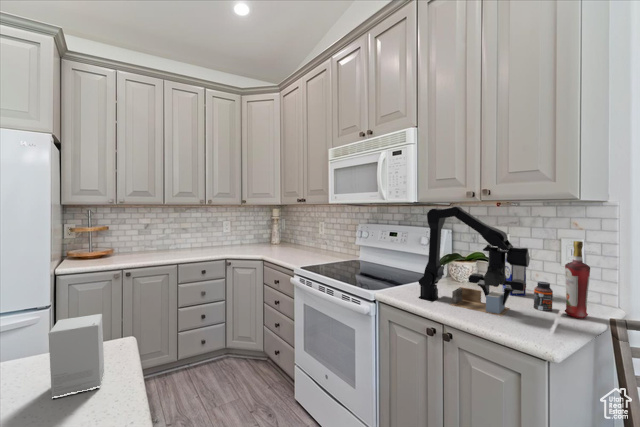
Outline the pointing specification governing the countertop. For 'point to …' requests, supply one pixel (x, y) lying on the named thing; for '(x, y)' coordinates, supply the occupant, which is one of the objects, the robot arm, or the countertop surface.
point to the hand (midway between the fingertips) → (495, 303)
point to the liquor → (577, 284)
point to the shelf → (471, 300)
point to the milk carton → (515, 277)
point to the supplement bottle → (543, 297)
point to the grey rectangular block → (495, 302)
